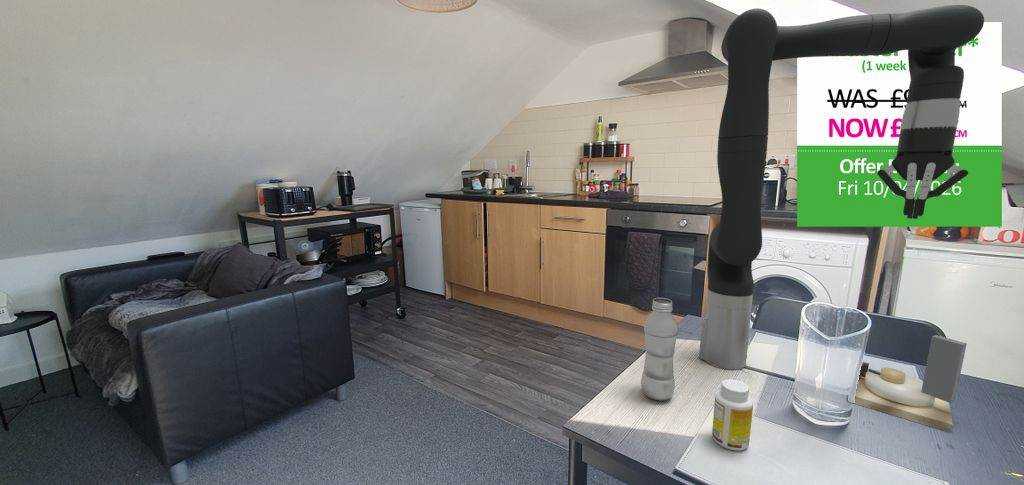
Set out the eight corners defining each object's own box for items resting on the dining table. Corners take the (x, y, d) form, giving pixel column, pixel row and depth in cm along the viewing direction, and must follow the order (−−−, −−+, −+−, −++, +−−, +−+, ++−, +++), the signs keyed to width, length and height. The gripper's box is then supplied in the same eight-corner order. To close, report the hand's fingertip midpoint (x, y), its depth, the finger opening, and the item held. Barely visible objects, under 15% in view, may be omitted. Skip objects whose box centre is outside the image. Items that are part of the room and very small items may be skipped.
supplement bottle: (754, 442, 69) (760, 386, 67) (740, 457, 65) (746, 398, 63) (720, 426, 73) (725, 373, 71) (705, 439, 69) (710, 384, 67)
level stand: (846, 401, 80) (850, 380, 79) (853, 374, 90) (856, 355, 89) (950, 432, 70) (955, 408, 70) (945, 399, 80) (950, 377, 80)
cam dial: (853, 385, 82) (862, 324, 80) (881, 374, 86) (890, 316, 84) (936, 419, 71) (950, 349, 69) (963, 405, 75) (978, 339, 73)
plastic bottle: (638, 401, 81) (643, 304, 77) (641, 384, 87) (646, 293, 83) (673, 408, 78) (680, 308, 75) (674, 390, 85) (680, 297, 81)
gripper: (880, 127, 79) (866, 217, 82) (983, 122, 70) (963, 223, 73) (881, 130, 84) (869, 214, 87) (978, 125, 75) (960, 219, 78)
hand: (912, 218), depth 80 cm, fingers closed
